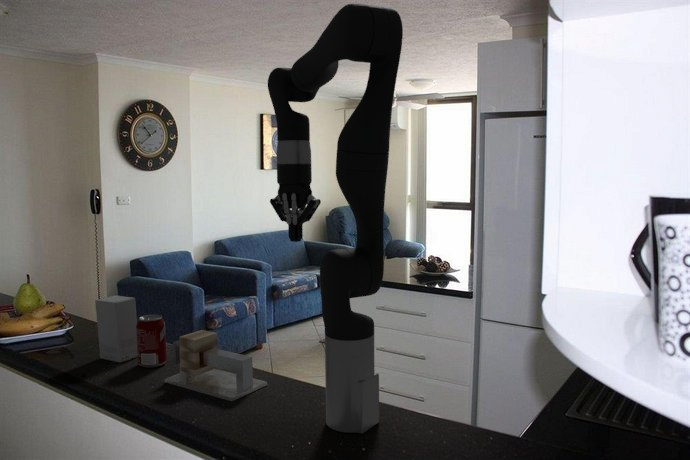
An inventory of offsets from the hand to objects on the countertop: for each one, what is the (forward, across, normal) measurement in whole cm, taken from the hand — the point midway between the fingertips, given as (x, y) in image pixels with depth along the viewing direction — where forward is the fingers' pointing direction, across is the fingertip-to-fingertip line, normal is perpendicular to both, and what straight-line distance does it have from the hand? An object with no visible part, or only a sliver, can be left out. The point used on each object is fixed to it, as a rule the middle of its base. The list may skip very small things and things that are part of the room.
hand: (295, 241), depth 131 cm
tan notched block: (+30, +20, +11) cm, 37 cm away
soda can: (+32, +38, +10) cm, 51 cm away
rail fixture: (+32, +15, +11) cm, 37 cm away
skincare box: (+32, +50, +11) cm, 60 cm away
